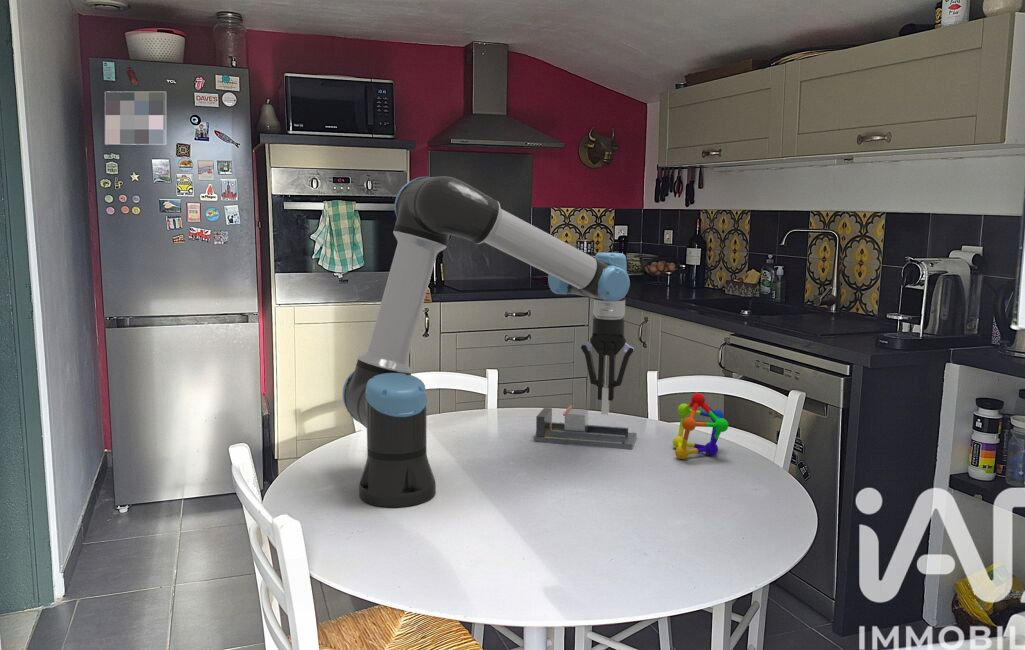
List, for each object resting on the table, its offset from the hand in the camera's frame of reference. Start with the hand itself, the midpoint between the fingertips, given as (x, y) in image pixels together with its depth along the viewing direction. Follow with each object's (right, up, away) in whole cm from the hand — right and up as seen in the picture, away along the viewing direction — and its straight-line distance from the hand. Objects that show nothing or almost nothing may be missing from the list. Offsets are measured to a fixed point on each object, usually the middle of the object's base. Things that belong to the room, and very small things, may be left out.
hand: (605, 413), depth 199 cm
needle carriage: (-7, -5, +3) cm, 9 cm away
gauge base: (-4, -7, +2) cm, 9 cm away
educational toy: (+21, -9, -8) cm, 24 cm away
